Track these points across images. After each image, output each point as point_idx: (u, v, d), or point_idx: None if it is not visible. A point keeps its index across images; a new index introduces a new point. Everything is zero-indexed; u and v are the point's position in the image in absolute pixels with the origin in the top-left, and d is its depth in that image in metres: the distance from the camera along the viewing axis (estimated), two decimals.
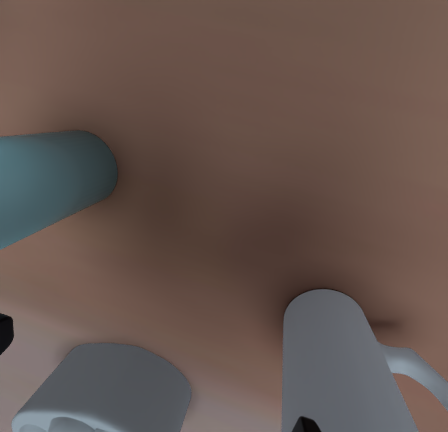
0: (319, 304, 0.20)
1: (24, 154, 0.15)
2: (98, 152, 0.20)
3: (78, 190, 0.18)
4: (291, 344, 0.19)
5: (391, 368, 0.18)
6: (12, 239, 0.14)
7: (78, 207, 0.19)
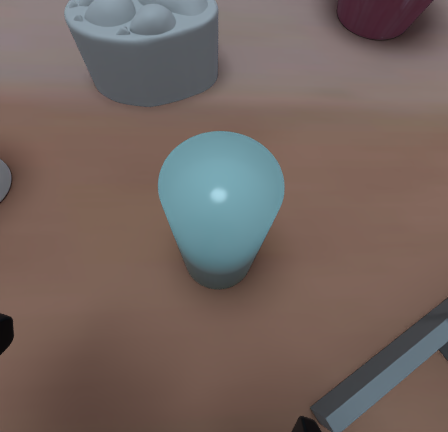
0: None
1: (196, 263, 0.16)
2: (192, 275, 0.22)
3: None
4: None
5: None
6: None
7: None
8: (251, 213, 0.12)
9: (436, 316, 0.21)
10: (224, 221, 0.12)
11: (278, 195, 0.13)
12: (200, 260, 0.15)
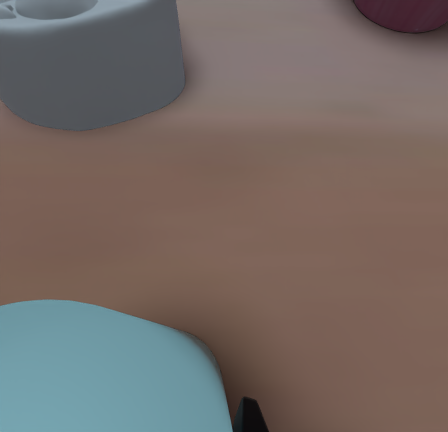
0: None
1: None
2: None
3: None
4: None
5: None
6: None
7: None
8: None
9: None
10: None
11: None
12: None
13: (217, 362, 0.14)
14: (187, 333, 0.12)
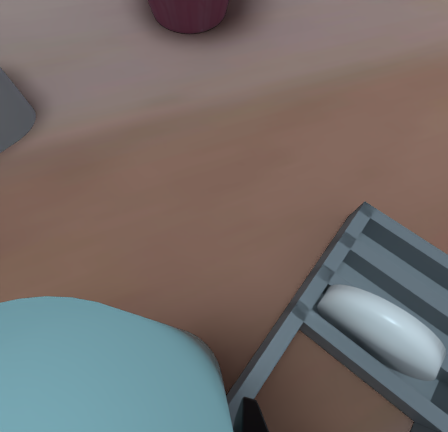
0: None
1: None
2: None
3: None
4: None
5: None
6: None
7: None
8: None
9: (290, 306, 0.21)
10: None
11: None
12: None
13: (217, 361, 0.14)
14: (187, 332, 0.12)
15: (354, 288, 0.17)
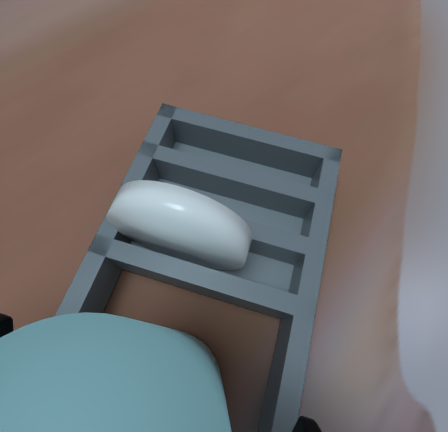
0: None
1: None
2: None
3: None
4: None
5: None
6: None
7: None
8: None
9: None
10: None
11: None
12: None
13: None
14: (189, 334, 0.14)
15: (122, 186, 0.13)
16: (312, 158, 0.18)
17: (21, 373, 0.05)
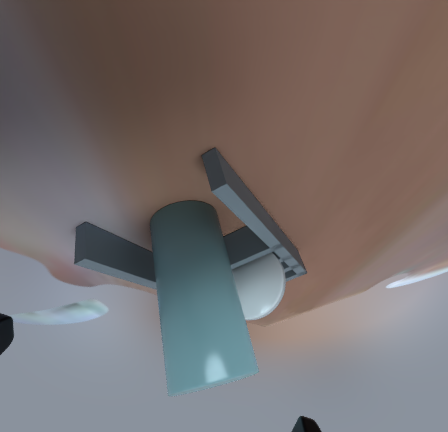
0: None
1: (185, 295, 0.18)
2: (183, 217, 0.21)
3: (217, 255, 0.20)
4: None
5: None
6: (245, 321, 0.19)
7: (226, 253, 0.21)
8: (182, 392, 0.17)
9: (277, 231, 0.26)
10: (189, 389, 0.16)
11: (180, 394, 0.18)
12: (182, 315, 0.17)
13: None
14: None
15: (283, 291, 0.26)
16: None
17: (244, 376, 0.18)
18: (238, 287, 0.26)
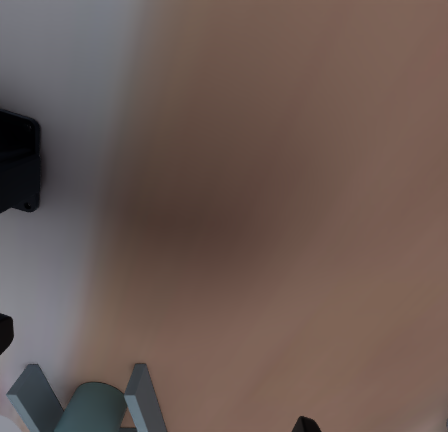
0: None
1: None
2: (99, 399, 0.28)
3: None
4: None
5: None
6: None
7: None
8: None
9: None
10: None
11: None
12: None
13: None
14: None
15: None
16: None
17: None
18: None
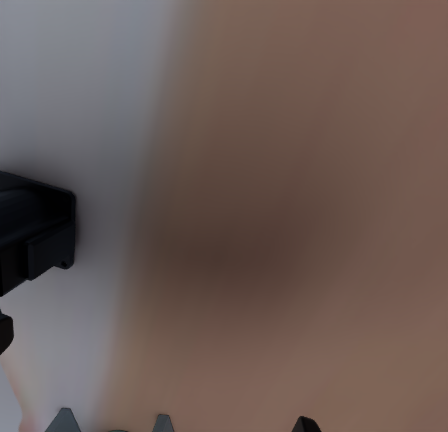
0: None
1: None
2: None
3: None
4: None
5: None
6: None
7: None
8: None
9: None
10: None
11: None
12: None
13: None
14: None
15: None
16: None
17: None
18: None
